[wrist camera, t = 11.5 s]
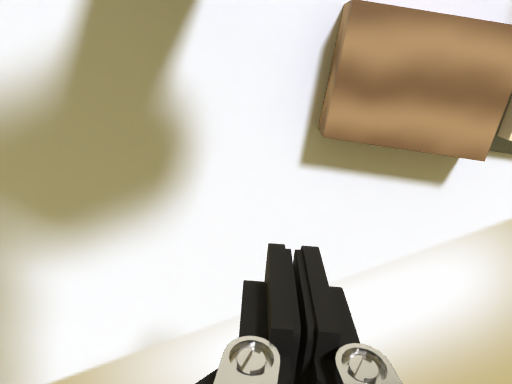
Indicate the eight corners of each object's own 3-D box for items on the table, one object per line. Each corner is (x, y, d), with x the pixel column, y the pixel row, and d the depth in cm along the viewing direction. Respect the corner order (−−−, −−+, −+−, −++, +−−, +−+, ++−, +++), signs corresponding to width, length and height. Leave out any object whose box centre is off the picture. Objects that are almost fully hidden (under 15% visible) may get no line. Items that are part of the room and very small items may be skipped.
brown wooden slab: (344, 4, 35) (353, -1, 31) (507, 30, 36) (536, 28, 32) (318, 128, 39) (323, 137, 36) (464, 150, 40) (484, 161, 36)
